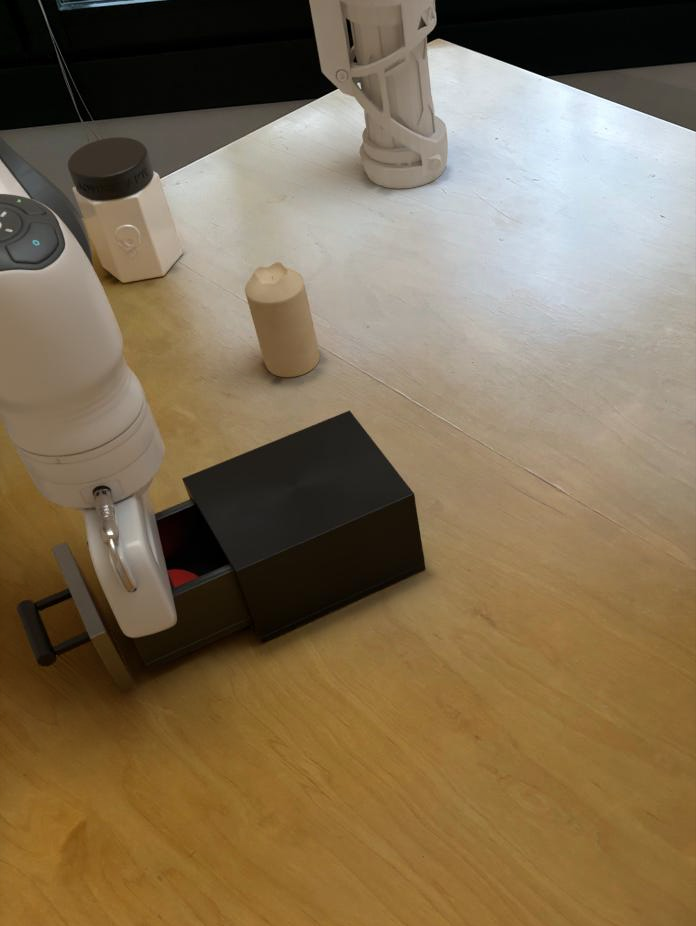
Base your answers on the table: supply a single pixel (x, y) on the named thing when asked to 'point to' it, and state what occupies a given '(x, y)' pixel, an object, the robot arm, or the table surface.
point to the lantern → (386, 83)
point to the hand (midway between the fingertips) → (154, 581)
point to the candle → (282, 320)
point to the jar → (124, 209)
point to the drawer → (196, 602)
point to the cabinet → (310, 523)
